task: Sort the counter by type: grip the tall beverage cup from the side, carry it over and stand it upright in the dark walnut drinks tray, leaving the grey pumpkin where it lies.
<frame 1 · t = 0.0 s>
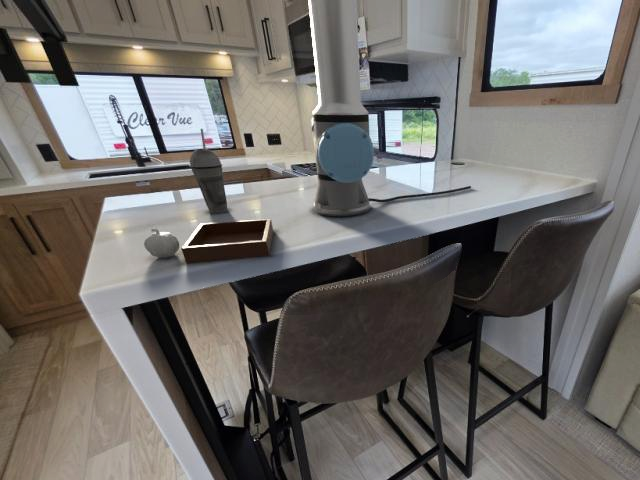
hand: (47, 84, 56), 28 cm above the table, tool pointing down, fingers open, 13 cm apart
drinks tray: (234, 245, 69), on the table
beverage cup: (219, 211, 90), on the table
grey pumpkin: (166, 256, 64), on the table
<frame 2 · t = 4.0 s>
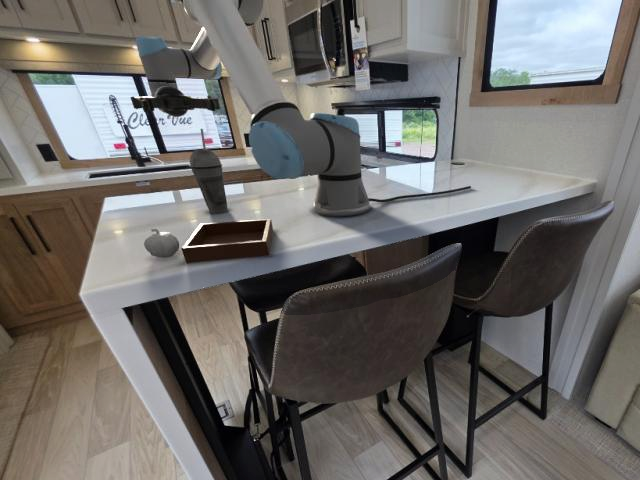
hand: (182, 104, 83), 25 cm above the table, tool horizontal, fingers open, 13 cm apart
nothing on the table moved.
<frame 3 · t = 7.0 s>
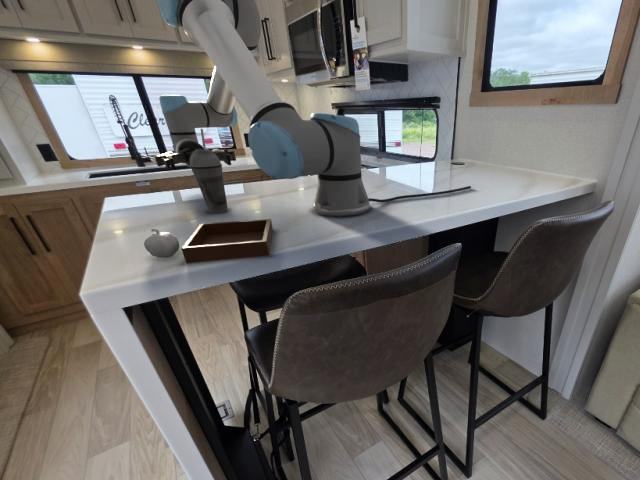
hand: (201, 162, 89), 12 cm above the table, tool horizontal, fingers open, 13 cm apart
nothing on the table moved.
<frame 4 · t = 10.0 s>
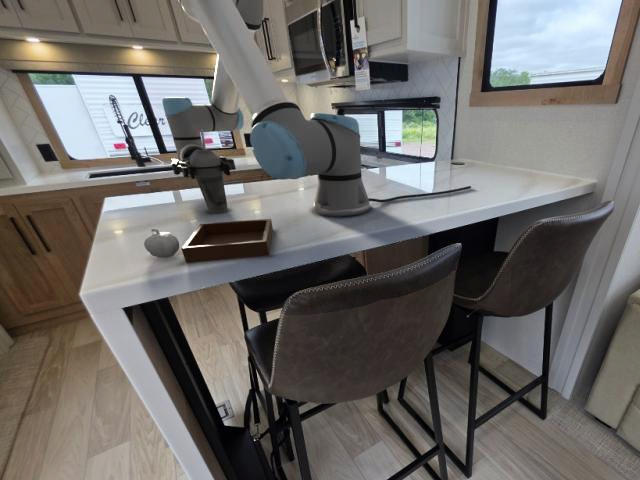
hand: (210, 171, 81), 11 cm above the table, tool horizontal, fingers closed on beverage cup, 7 cm apart
beverage cup: (219, 211, 90), on the table, touching gripper
everything else where it was.
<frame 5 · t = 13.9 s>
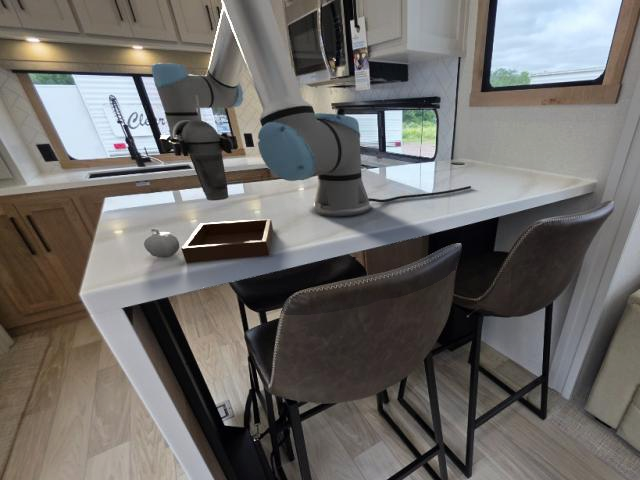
hand: (207, 147, 66), 18 cm above the table, tool horizontal, fingers closed on beverage cup, 7 cm apart
beverage cup: (218, 198, 75), point 7 cm above the table, touching gripper
everything else where it was.
when the fingers open (12 cm above the table, at t = 18.0 s): beverage cup stays where it is, resting on drinks tray.
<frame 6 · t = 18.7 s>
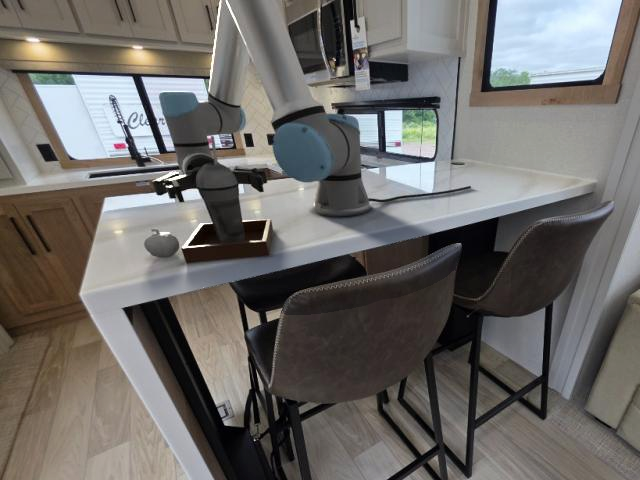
hand: (222, 189, 60), 12 cm above the table, tool horizontal, fingers open, 13 cm apart
beverage cup: (233, 244, 68), resting on drinks tray
everything else where it was.
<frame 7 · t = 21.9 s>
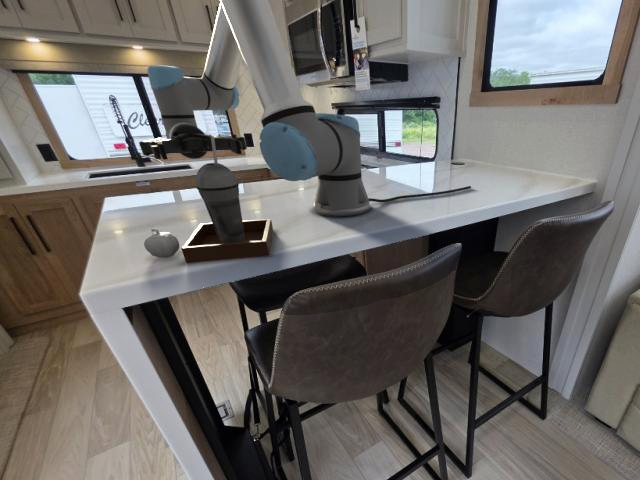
hand: (202, 149, 66), 17 cm above the table, tool horizontal, fingers open, 13 cm apart
nothing on the table moved.
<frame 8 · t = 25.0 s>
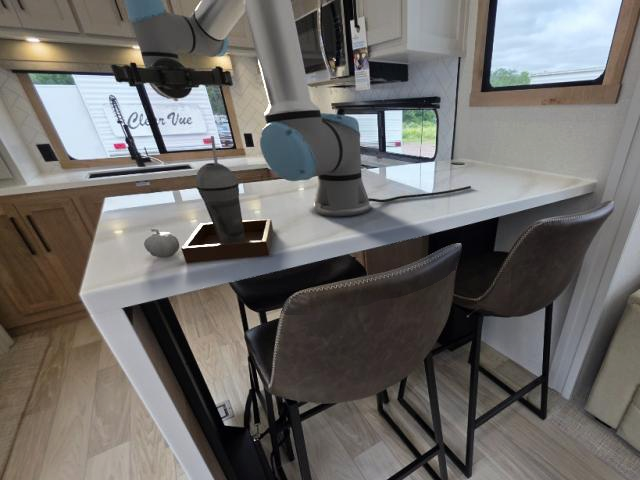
hand: (181, 74, 60), 30 cm above the table, tool horizontal, fingers open, 13 cm apart
nothing on the table moved.
at the end: beverage cup inside the target area in the drinks tray (0.1 cm from its centre), point 0.3 cm above the drinks tray's base; beverage cup tilted 0°; grey pumpkin moved 0.2 cm from its start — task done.
